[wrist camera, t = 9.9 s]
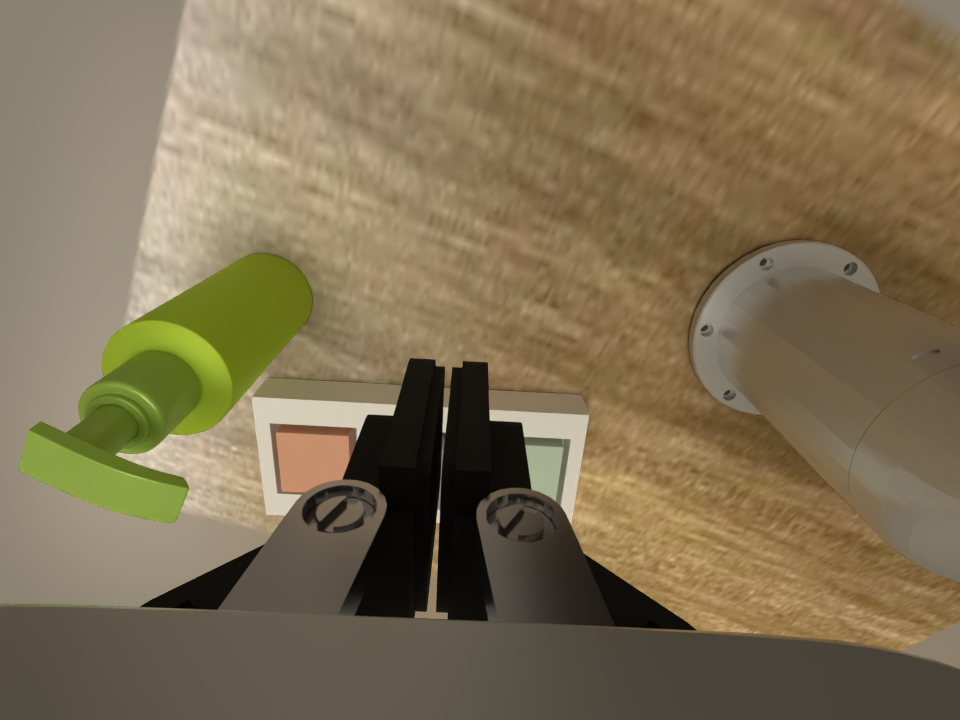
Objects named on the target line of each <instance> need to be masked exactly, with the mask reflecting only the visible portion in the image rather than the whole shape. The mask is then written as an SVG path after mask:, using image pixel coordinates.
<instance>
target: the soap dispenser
mask: <svg viewBox="0 0 960 720" xmlns="http://www.w3.org/2000/svg"><path fill="white" fill-rule="evenodd" d="M311 310H312V293H311V289H310V286H309V284H308V282H307V280H306V278H305V277H304V275H303V274H302V273H301V271H300V270H299V269H298V268H297V267H296V266H294V265H293V264H292V263H291V262H289V261H287V260H286V259H284V258H281V257H279V256H276V255H272V254H266V253H258V254H252V255H248V256H246V257H244V258H242V259H240V260H238V261H237V262H235V263H233V264H231V265H230V266H228V267H226V268H224V269H223V270H221V271H219V272H218V273H216V274H214V275H212V276H211V277H209V278H207V279H206V280H204V281H202V282H200V283H199V284H197V285H195V286H193V287H192V288H190V289H188V290H187V291H185V292H183V293H181V294H180V295H178V296H176V297H174V298H173V299H171V300H169V301H168V302H166V303H164V304H162V305H161V306H159V307H157V308H156V309H154V310H152V311H150V312H149V313H147V314H145V315H143V316H142V317H140V318H138V319H137V320H135V321H133V322H131V323H130V324H128V325H126V326H124V327H123V328H121V329H120V330H118V331H117V332H116V333H115V334H114V335H113V336H112V337H111V338H110V340H109V341H108V343H107V345H106V347H105V349H104V352H103V357H102V372H103V378H101V379H100V380H99V381H97V382H96V383H94V384H93V385H91V386H90V387H89V388H88V389H87V390H86V391H85V392H84V393H83V394H82V396H81V398H80V401H79V406H78V411H79V416H80V420H81V422H80V423H79V424H77V425H76V426H75V427H73V428H72V429H71V430H69V431H68V432H67V433H65V432H63V431H60V430H58V429H56V428H54V427H52V426H50V425H48V424H45V423H43V422H39V423H38V424H37V425H35V426H34V427H32V428H31V429H29V431H28V434H27V438H26V442H25V446H24V449H23V453H22V457H21V461H20V465H19V469H18V470H19V471H21V472H22V473H25V474H27V475H29V476H31V477H33V478H35V479H37V480H39V481H41V482H43V483H46V484H47V485H50V486H52V487H54V488H56V489H58V490H61V491H63V492H65V493H67V494H70V495H72V496H74V497H76V498H79V499H81V500H83V501H86V502H89V503H91V504H94V505H97V506H99V507H102V508H105V509H108V510H112V511H115V512H119V513H122V514H126V515H130V516H134V517H139V518H143V519H148V520H154V521H159V522H166V523H175V521H176V520H177V517H178V515H179V513H180V510H181V508H182V506H183V503H184V501H185V498H186V496H187V493H188V491H189V487H188V484H187V482H186V481H185V479H184V478H182V477H179V476H176V475H172V474H168V473H164V472H160V471H157V470H153V469H150V468H147V467H144V466H141V465H138V464H136V463H133V462H130V461H128V460H125V459H123V458H121V457H118V456H116V454H117V453H118V452H120V453H126V454H139V453H144V452H147V451H149V450H151V449H153V448H154V447H156V446H157V445H158V444H159V443H160V442H161V441H162V440H163V439H164V438H165V437H166V436H167V435H168V434H175V435H190V434H196V433H200V432H203V431H206V430H208V429H210V428H212V427H213V426H215V425H216V424H218V423H219V422H220V421H221V420H222V419H223V418H224V417H225V416H226V414H227V413H228V412H229V411H230V410H231V409H232V407H233V406H234V405H235V404H236V403H237V402H238V400H239V399H240V398H241V397H242V396H243V395H244V393H245V392H246V391H247V390H248V389H249V388H250V387H251V385H252V384H253V383H254V382H255V381H256V380H257V378H258V377H259V376H260V375H261V374H262V373H263V371H264V370H265V369H266V368H267V367H268V366H269V364H270V363H271V362H272V361H273V360H274V359H275V357H276V356H277V355H278V354H279V353H280V352H281V351H282V349H283V348H284V347H285V346H286V345H287V344H288V342H289V341H290V340H291V339H292V338H293V337H294V335H295V334H296V333H297V332H298V331H299V330H300V328H301V327H302V326H303V325H304V324H305V323H306V321H307V320H308V318H309V316H310V313H311Z"/></svg>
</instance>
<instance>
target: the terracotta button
mask: <svg viewBox="0 0 960 720" xmlns="http://www.w3.org/2000/svg"><path fill="white" fill-rule="evenodd" d="M276 440H277V450H278V459H279V468H280V477H281V487H282V491H284V492H306V491H308V490H310V489H311V488H313V487H315V486H317V485H320V484H323V483H326V482H329V481H336V480H342V479H343V476H344V473H345V471H346V468H347V466H348V463H349V460H350V458H351V455H352V452H353V450H354V447H355V428H349V427H330V426H311V425H292V424H281V425H280V427H279V428H278V430H277V431H276Z"/></svg>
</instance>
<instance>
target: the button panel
mask: <svg viewBox="0 0 960 720" xmlns="http://www.w3.org/2000/svg"><path fill="white" fill-rule="evenodd" d="M401 387H402V385H393V384H374V383H356V382H338V381H320V380H302V379H283V378H267V379H266V380H265V381H264V383H263V384H262V385H261V386H260V387H259V389H258V390H257V391H256V392H255V394H254V395H253V396H252V404H253V412H254V420H255V428H256V436H257V444H258V452H259V460H260V468H261V476H262V484H263V492H264V500H265V508H266V515H286V514H287V513H288V511H289V510H290V509H291V507H292V506H293V505H294V503H295V502H296V501H297V500H298V499H299V498H300V497H301V496H302V495H303V494H304V493H305V492H284V491H282V487H281V477H280V468H279V459H278V450H277V440H276V431H277V430H278V428H279V427H280V425H281V424H292V425H311V426H330V427H349V428H355V445H356V442H357V439H358V437H359V434H360V431H361V429H362V426H363V424H364V421H365V418H366V416H367V415H369V414H372V415H391V416H393V415H394V411H395V408H396V404H397V401H398V397H399V394H400V391H401ZM449 396H450V388H447V387H444V405H443V432H442V435H445V434H446V424H447V415H448V406H449ZM489 412H490V421H507V422H521V423H522V426H523V432H524V437H538V438H557V439H562V443H563V447H564V448H563V455H562V462H561V468H560V475H559V482H558V489H557V496H556V502H557V503H558V504H559V505H560V506H561V507H562V509H563V510H564V512H565V513H566V515H567V517H568V519H569V522H570V524H571V522H572V516H573V510H574V504H575V498H576V492H577V486H578V480H579V474H580V467H581V461H582V455H583V449H584V443H585V437H586V431H587V425H588V419H589V413H588V411H587V408H586V405H585V403H584V400H583V397H582V395H575V394H556V393H538V392H520V391H502V390H489ZM436 523H440V510H437V519H436Z"/></svg>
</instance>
